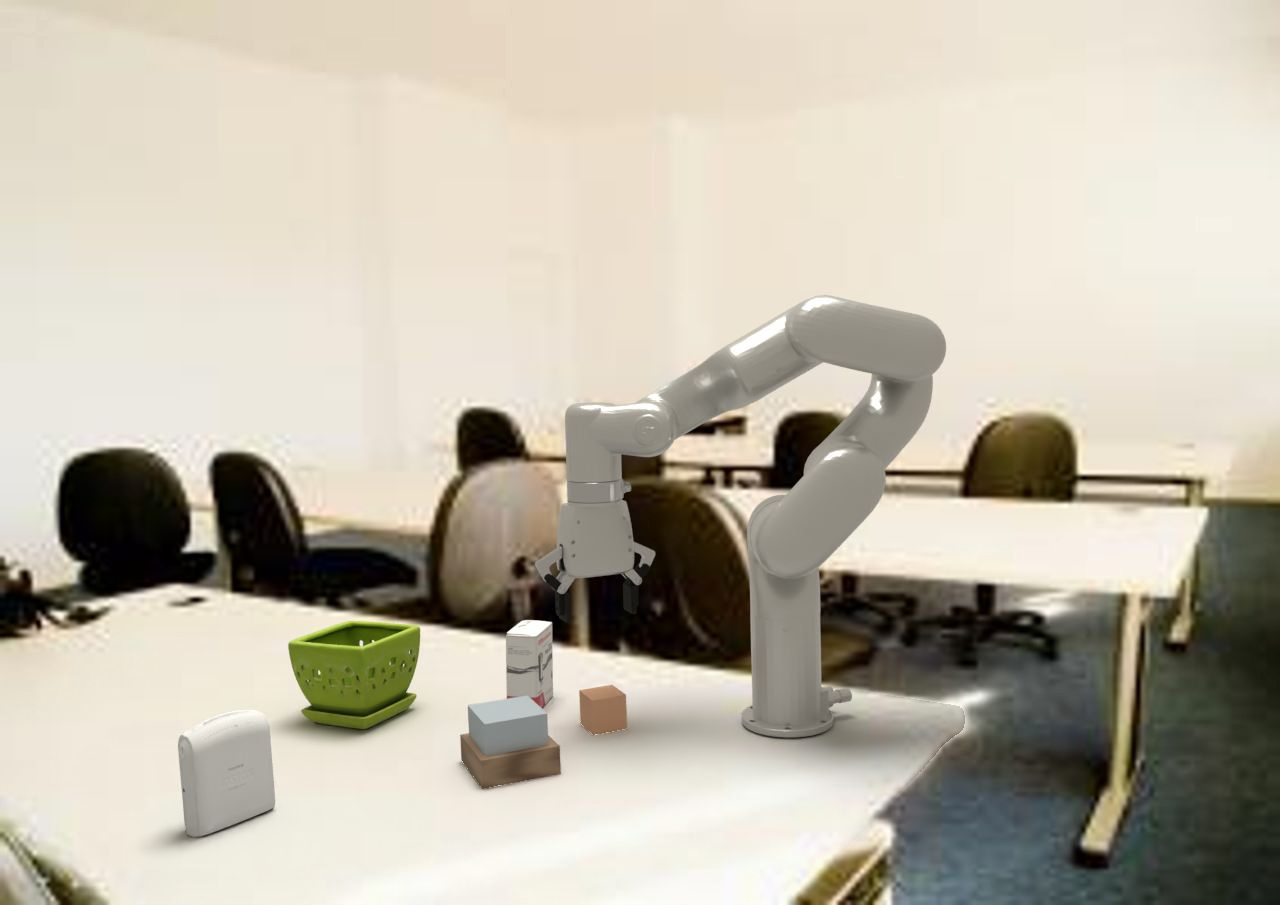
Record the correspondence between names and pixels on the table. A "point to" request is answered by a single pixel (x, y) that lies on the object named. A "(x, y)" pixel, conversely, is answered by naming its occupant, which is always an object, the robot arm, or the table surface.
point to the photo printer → (226, 771)
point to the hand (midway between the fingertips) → (597, 615)
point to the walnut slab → (510, 763)
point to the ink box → (530, 661)
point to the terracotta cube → (603, 709)
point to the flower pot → (356, 672)
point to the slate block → (507, 725)
